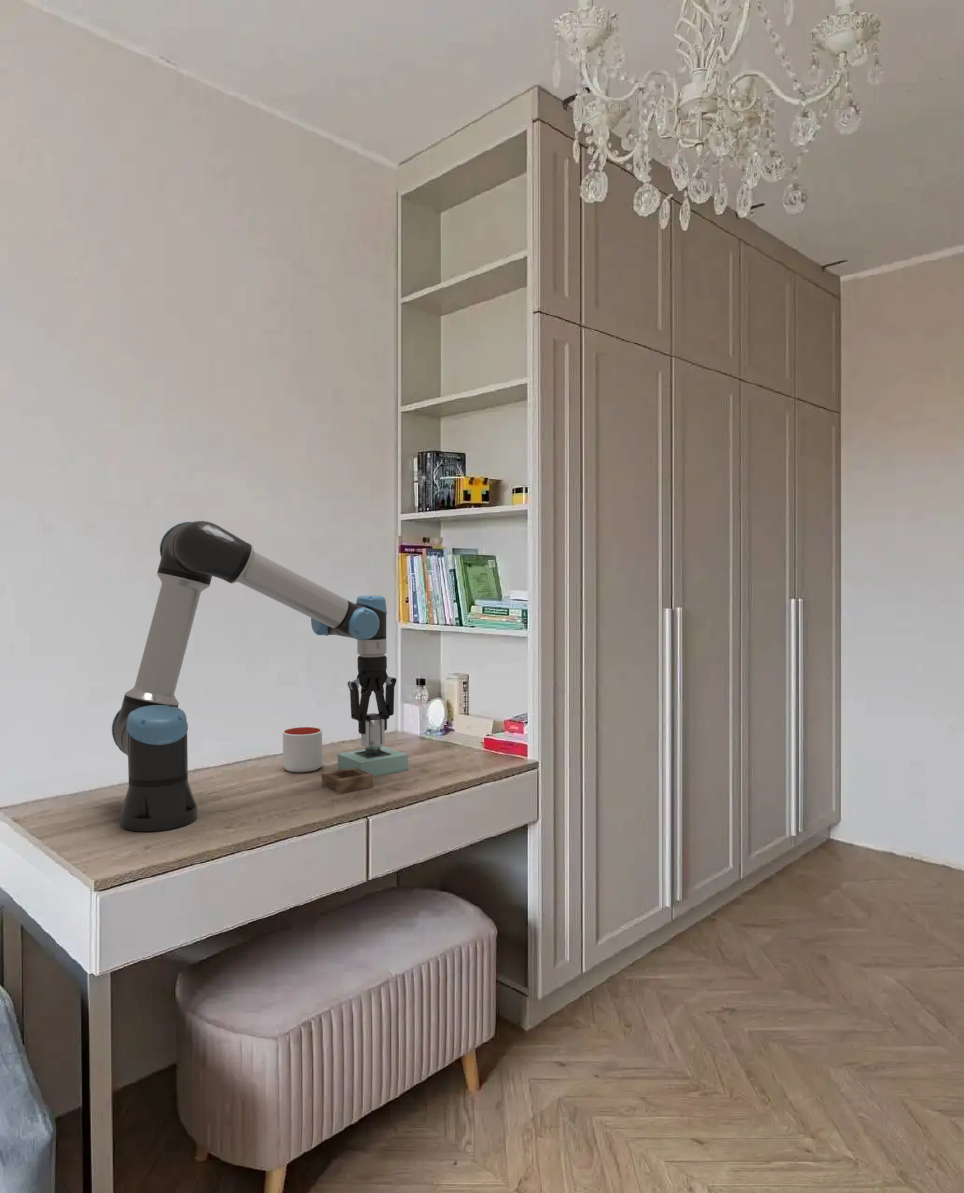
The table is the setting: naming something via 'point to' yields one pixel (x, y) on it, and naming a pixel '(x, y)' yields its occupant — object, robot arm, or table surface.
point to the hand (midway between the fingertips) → (373, 744)
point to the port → (374, 761)
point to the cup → (302, 749)
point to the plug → (374, 735)
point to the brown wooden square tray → (347, 780)
